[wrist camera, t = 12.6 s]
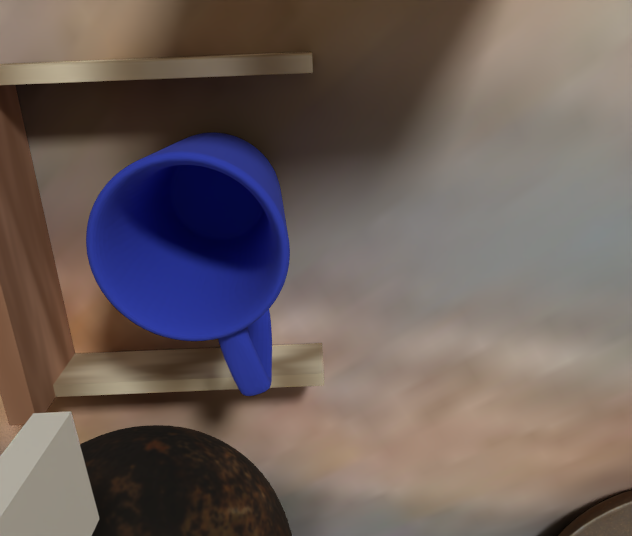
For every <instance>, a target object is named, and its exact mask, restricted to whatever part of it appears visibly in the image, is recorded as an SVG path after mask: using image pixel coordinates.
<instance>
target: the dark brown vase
mask: <svg viewBox="0 0 632 536" xmlns="http://www.w3.org/2000/svg"><path fill="white" fill-rule="evenodd" d="M80 447H81V450H82V454H83V458H84V462H85V466H86V469H87V473H88V477H89V481H90V485H91V488H92V492H93V496H94V500H95V504H96V507H97V511H98V515H99V521H98V523H97V525H96V527H95V530H94V532H93V534H92V536H292V534H291V531H290V528H289V524H288V521H287V518H286V515H285V512H284V510H283V508H282V506H281V503H280V501H279V499H278V497H277V495H276V493H275V491H274V490H273V488H272V487H271V485H270V483H269V482H268V481H267V479H266V478H265V477H264V475H263V474H262V473H261V472H260V471H259V470H258V468H257V467H256V466H255V465H254V464H253V463H252V462H251V461H249V460H248V459H247V458H246V457H245V456H244V455H242V454H241V453H240V452H238V451H237V450H236V449H234V448H233V447H231V446H230V445H228V444H226V443H224V442H223V441H221V440H219V439H217V438H214V437H212V436H210V435H207V434H205V433H202V432H199V431H195V430H191V429H187V428H182V427H174V426H157V425H156V426H139V427H131V428H125V429H120V430H117V431H113V432H110V433H107V434H104V435H101V436H98V437H96V438H94V439H91V440H89V441H87V442H84V443H82V444H80Z"/></svg>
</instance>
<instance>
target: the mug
mask: <svg viewBox="0 0 632 536" xmlns="http://www.w3.org/2000/svg"><path fill="white" fill-rule="evenodd" d="M86 246H87V255H88V259H89V264H90V267H91V270H92V273H93V275H94V277H95V280H96V282H97V284H98V285H99V287H100V289H101V291H102V292H103V293H104V295H105V296H106V298H107V299H108V300H109V301H110V302H111V304H112V305H113V306H114V307H115V308H116V309H117V310H118V311H119V312H120V313H121V314H123V315H124V316H125V317H126V318H128V319H129V320H130V321H132V322H133V323H135V324H136V325H138V326H140V327H142V328H143V329H146V330H148V331H150V332H152V333H154V334H157V335H160V336H163V337H167V338H171V339H176V340H183V341H206V340H214V339H218V340H219V343H220V347H221V350H222V353H223V356H224V359H225V361H226V363H227V365H228V368H229V370H230V372H231V375H232V377H233V379H234V381H235V383H236V385H237V387H238V389H239V390H240V392H241V393H242V394H243V395H245V396H253V395H257V394H260V393H263V392H265V391H267V390H268V389H269V388H270V386H271V382H272V333H271V320H270V313H269V308H270V307H271V305H272V304H273V303H274V301H275V300H276V298H277V297H278V295H279V293H280V291H281V289H282V287H283V285H284V282H285V279H286V276H287V272H288V266H289V257H290V249H289V239H288V232H287V226H286V220H285V214H284V208H283V202H282V195H281V190H280V185H279V181H278V178H277V176H276V173H275V171H274V169H273V167H272V166H271V164H270V163H269V161H268V160H267V158H266V157H265V156H264V155H263V154H262V153H261V152H260V151H259V150H258V149H257V148H255V147H254V146H253V145H251V144H250V143H248V142H247V141H245V140H243V139H241V138H238V137H236V136H233V135H229V134H224V133H202V134H197V135H193V136H190V137H187V138H185V139H183V140H181V141H178V142H176V143H174V144H172V145H170V146H168V147H166V148H163V149H161V150H159V151H157V152H155V153H153V154H151V155H148V156H146V157H144V158H142V159H140V160H138V161H136V162H134V163H132V164H130V165H128V166H127V167H125V168H124V169H122V170H121V171H120V172H119V173H117V174H116V175H115V176H114V177H113V178H112V179H111V180H110V181H109V182H108V183H107V184H106V186H105V187H104V188H103V190H102V191H101V192H100V194H99V196H98V197H97V199H96V201H95V203H94V205H93V208H92V210H91V213H90V217H89V220H88V226H87V235H86Z"/></svg>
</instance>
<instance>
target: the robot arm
mask: <svg viewBox="0 0 632 536" xmlns="http://www.w3.org/2000/svg"><path fill="white" fill-rule="evenodd" d="M98 521H99V515H98V511H97V507H96V504H95V500H94V496H93V492H92V488H91V485H90V481H89V477H88V473H87V469H86V466H85V462H84V458H83V454H82V450H81V447H80V443H79V439H78V435H77V432H76V428H75V424H74V420H73V416H72V413H71V411H70V412H50V413H33V414H32V416H31V417H30V418H29V420H28V421H27V422H26V423H25V425H24V426H23V427H22V429H21V430H20V431H19V433H18V434H17V435H16V436H15V438H14V439H13V440H12V442H11V443H10V444H9V446H8V447H7V448H6V450H5V451H4V452H3V453H2V455H1V456H0V536H92V534H93V532H94V530H95V527H96V525H97V523H98Z"/></svg>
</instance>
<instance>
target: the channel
mask: <svg viewBox="0 0 632 536" xmlns="http://www.w3.org/2000/svg"><path fill="white" fill-rule="evenodd" d="M295 73H313V63H312V53H311V52H293V53H267V54H242V55H217V56H191V57H166V58H140V59H115V60H89V61H64V62H38V63H13V64H0V394H1V397H2V401H3V404H4V408H5V411H6V415H7V418H8V421H9V425H25V423H26V422H27V421H28V420H29V418H30V417H31V416H32V414H33V413H45V412H46V411H47V409H48V408H49V406H50V405H51V403H52V402H53V400H54V399H55V397H65V396H89V395H112V394H136V393H159V392H183V391H206V390H230V389H238V387H237V385H236V383H235V381H234V379H233V377H232V375H231V372H230V370H229V368H228V365H227V363H226V361H225V359H224V356H223V353H222V350H221V347H220V348H196V349H172V350H149V351H125V352H101V353H77V354H75V351H74V347H73V342H72V338H71V333H70V329H69V324H68V320H67V315H66V311H65V306H64V302H63V297H62V293H61V288H60V284H59V279H58V275H57V270H56V266H55V261H54V257H53V252H52V248H51V243H50V239H49V234H48V230H47V225H46V221H45V216H44V212H43V207H42V203H41V198H40V194H39V189H38V185H37V180H36V176H35V171H34V167H33V162H32V158H31V153H30V149H29V144H28V140H27V135H26V131H25V126H24V122H23V117H22V113H21V108H20V104H19V99H18V95H17V90H16V86H15V85H17V84H42V83H67V82H92V81H118V80H143V79H168V78H194V77H219V76H244V75H270V74H295ZM323 385H324V369H323V353H322V343H315V344H291V345H272V382H271V386H270V388H277V387H300V386H323Z"/></svg>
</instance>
